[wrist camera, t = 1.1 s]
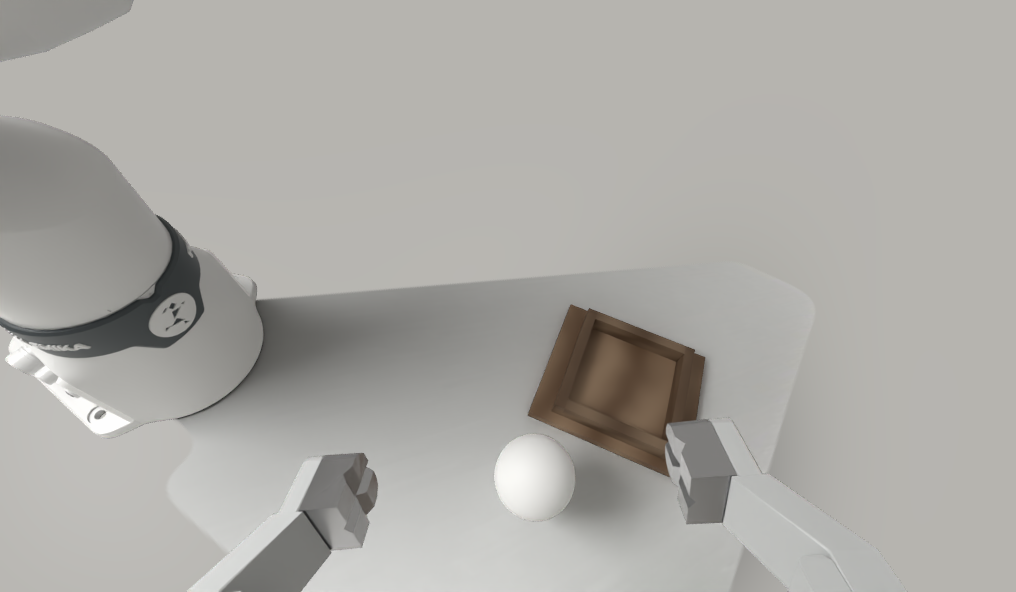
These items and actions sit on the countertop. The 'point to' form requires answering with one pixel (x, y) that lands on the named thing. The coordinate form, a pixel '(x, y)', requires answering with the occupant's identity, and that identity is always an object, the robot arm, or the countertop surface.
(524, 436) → the lightbulb
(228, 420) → the countertop surface
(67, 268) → the robot arm
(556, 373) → the brown rimmed tray
